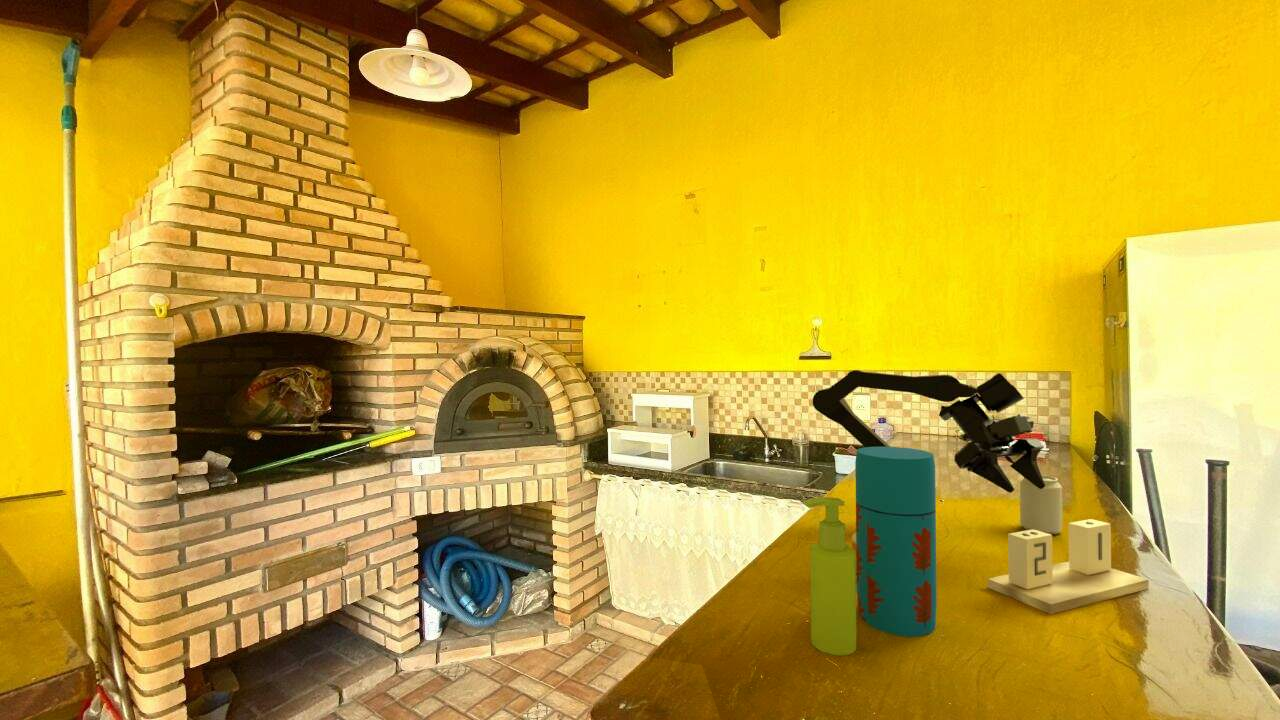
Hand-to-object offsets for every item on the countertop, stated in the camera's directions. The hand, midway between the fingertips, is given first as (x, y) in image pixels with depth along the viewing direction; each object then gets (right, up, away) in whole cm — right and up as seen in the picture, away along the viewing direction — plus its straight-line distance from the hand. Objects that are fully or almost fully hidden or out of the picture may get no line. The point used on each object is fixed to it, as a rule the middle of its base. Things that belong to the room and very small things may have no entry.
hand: (1027, 489), depth 102 cm
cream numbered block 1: (+4, -12, -10) cm, 16 cm away
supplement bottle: (-34, -14, -7) cm, 37 cm away
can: (+15, -13, +16) cm, 25 cm away
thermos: (-36, -14, -22) cm, 45 cm away
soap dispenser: (-49, -14, -29) cm, 59 cm away
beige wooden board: (-3, -13, -13) cm, 19 cm away
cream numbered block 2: (-10, -12, -15) cm, 21 cm away
